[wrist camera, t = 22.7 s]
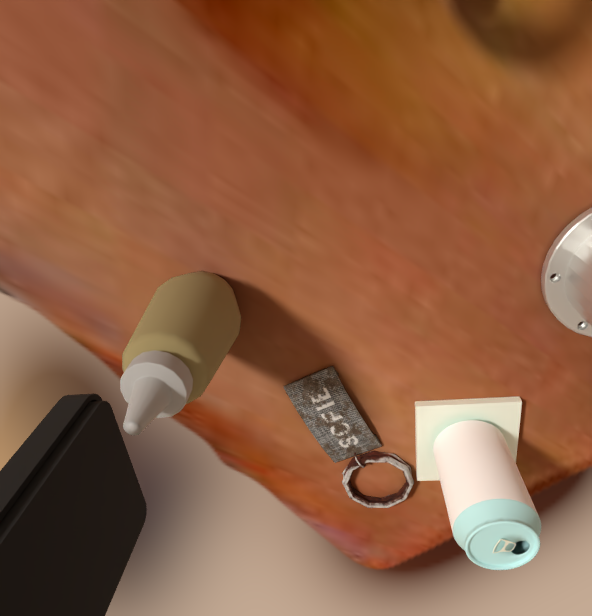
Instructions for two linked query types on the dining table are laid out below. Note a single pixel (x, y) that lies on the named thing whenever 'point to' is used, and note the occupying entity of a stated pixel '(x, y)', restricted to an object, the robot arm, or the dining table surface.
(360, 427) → the keychain
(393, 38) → the dining table surface
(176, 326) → the squeeze bottle
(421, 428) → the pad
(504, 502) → the can
